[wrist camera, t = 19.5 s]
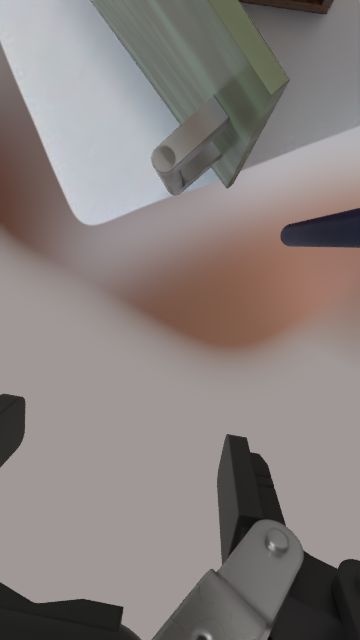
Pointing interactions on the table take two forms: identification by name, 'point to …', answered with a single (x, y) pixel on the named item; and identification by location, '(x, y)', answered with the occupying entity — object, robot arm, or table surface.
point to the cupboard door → (201, 80)
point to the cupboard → (297, 4)
